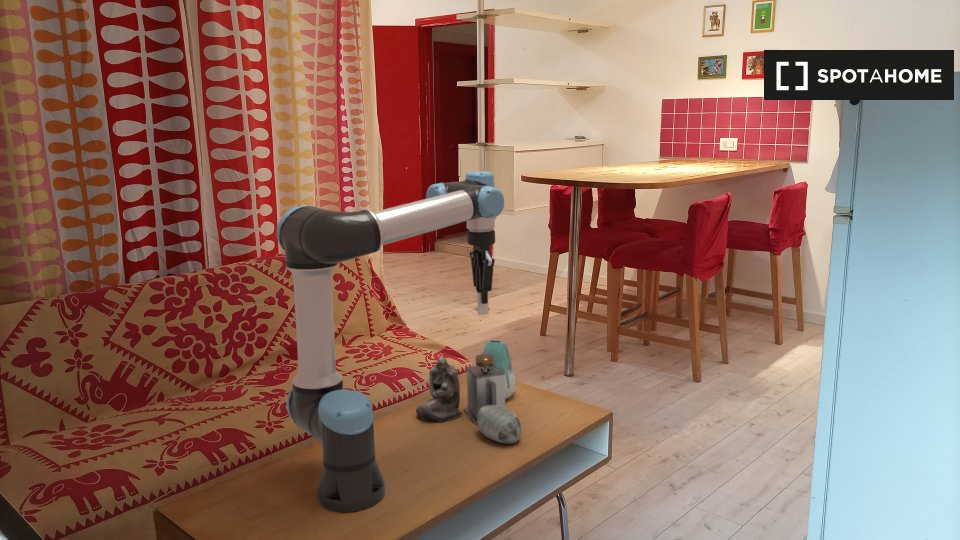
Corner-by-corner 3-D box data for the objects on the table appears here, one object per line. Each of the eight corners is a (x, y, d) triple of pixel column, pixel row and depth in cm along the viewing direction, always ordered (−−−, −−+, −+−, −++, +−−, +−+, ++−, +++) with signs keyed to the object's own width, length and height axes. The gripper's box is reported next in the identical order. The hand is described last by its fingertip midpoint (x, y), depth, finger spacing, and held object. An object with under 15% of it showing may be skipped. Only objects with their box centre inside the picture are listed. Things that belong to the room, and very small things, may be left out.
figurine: (416, 424, 201) (413, 363, 197) (415, 407, 212) (413, 349, 208) (463, 421, 202) (461, 360, 198) (460, 404, 213) (458, 346, 209)
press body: (478, 427, 198) (476, 380, 195) (463, 411, 208) (462, 366, 206) (511, 420, 201) (510, 374, 198) (495, 405, 212) (494, 361, 209)
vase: (498, 386, 226) (496, 332, 223) (523, 397, 218) (522, 340, 214) (469, 396, 219) (467, 340, 215) (494, 407, 211) (493, 349, 207)
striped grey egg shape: (534, 430, 188) (514, 400, 186) (509, 455, 184) (488, 425, 182) (508, 423, 200) (489, 395, 198) (484, 446, 196) (464, 418, 194)
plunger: (480, 405, 201) (479, 361, 198) (473, 398, 206) (471, 355, 203) (498, 402, 203) (497, 358, 200) (491, 395, 208) (490, 352, 205)
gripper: (503, 231, 189) (504, 318, 194) (485, 225, 201) (487, 306, 206) (476, 234, 187) (478, 322, 192) (459, 227, 199) (462, 310, 204)
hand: (483, 314), depth 199 cm, fingers closed
